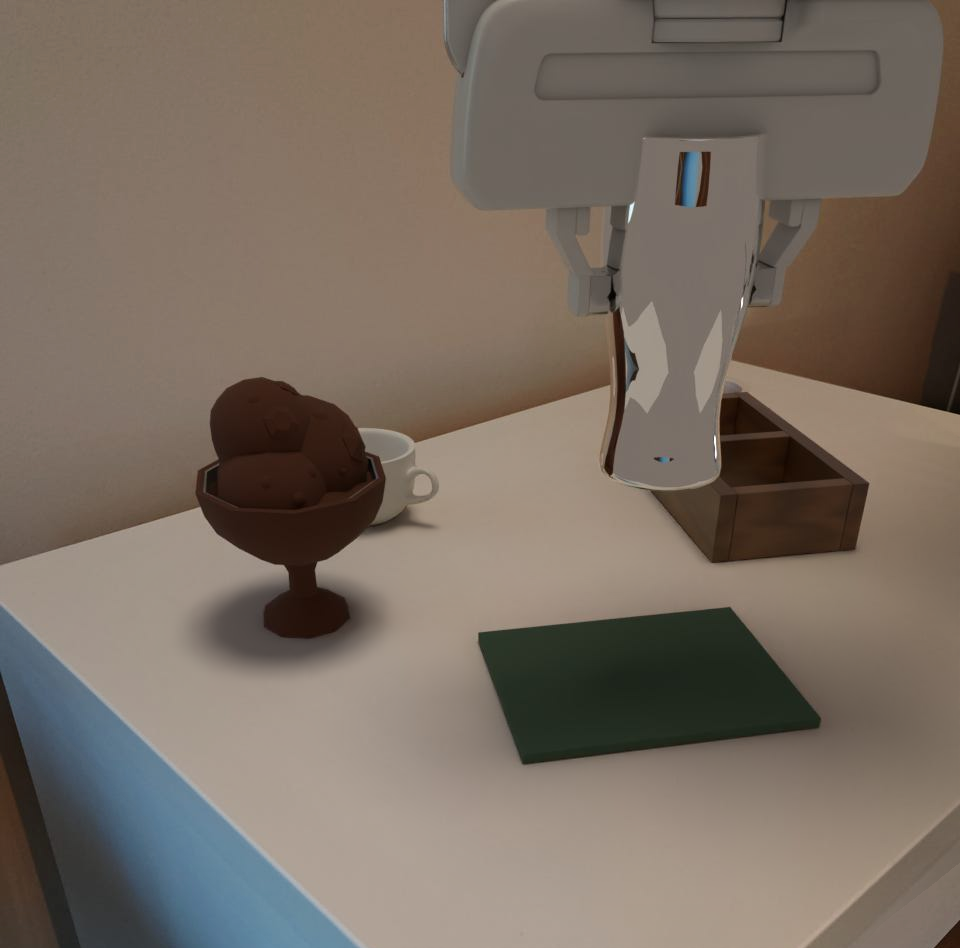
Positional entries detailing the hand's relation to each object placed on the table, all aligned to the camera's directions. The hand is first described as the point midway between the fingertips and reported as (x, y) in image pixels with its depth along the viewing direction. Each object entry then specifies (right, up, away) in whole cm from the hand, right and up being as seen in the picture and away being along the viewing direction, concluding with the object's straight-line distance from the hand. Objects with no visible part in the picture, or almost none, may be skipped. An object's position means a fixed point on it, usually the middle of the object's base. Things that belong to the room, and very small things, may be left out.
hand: (674, 309), depth 46 cm
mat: (0, -17, +11) cm, 20 cm away
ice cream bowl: (-20, -14, +17) cm, 30 cm away
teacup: (-17, -6, +30) cm, 35 cm away
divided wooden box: (+10, -4, +32) cm, 34 cm away
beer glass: (0, -7, +4) cm, 8 cm away
